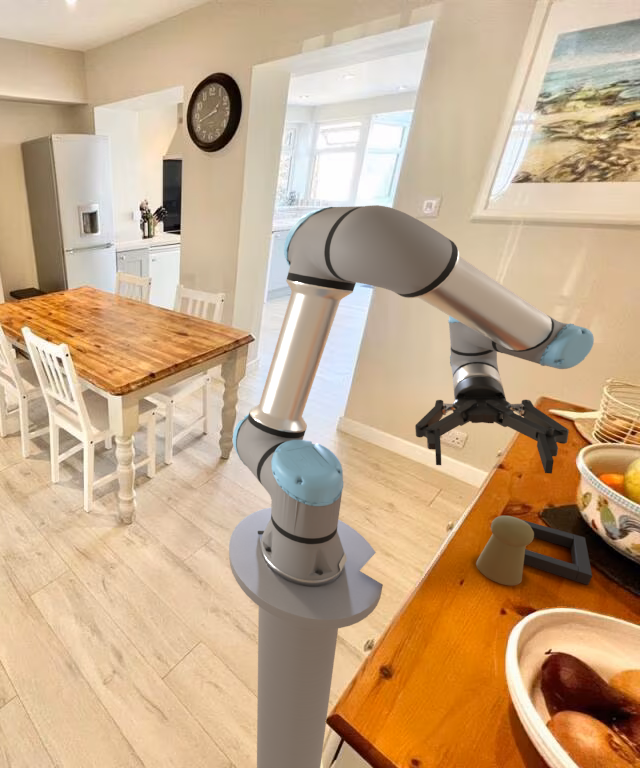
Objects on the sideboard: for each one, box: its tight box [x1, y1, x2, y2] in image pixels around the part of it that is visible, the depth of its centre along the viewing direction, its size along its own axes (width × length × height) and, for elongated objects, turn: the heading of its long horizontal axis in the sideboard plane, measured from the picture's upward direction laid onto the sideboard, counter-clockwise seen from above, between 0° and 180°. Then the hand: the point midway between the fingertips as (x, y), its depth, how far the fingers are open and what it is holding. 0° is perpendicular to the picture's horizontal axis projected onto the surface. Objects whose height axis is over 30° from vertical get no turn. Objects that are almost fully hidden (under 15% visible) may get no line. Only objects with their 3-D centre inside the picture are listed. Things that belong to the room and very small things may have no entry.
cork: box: [475, 515, 535, 586], centre depth 68 cm, size 6×6×11 cm
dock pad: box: [522, 519, 593, 586], centre depth 72 cm, size 10×10×2 cm
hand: (490, 463), depth 66 cm, fingers open, 13 cm apart
